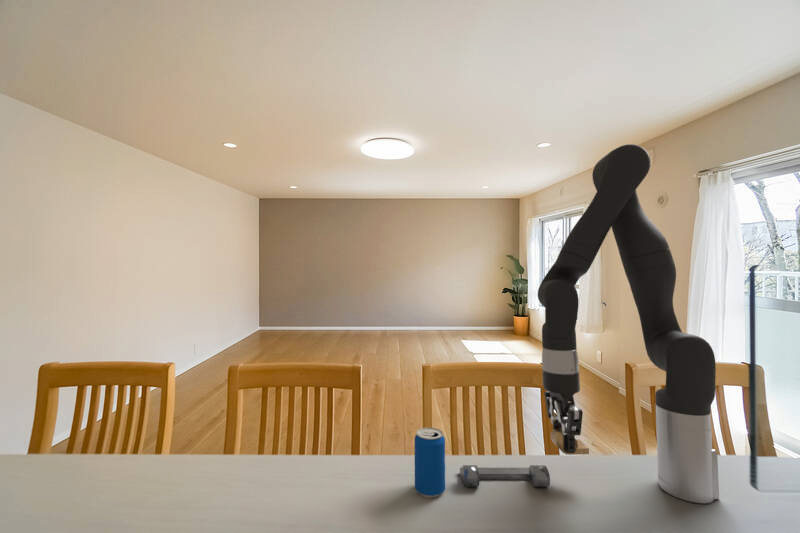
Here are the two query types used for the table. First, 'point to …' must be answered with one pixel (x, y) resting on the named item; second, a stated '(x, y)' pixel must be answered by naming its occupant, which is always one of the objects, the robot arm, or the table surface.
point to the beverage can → (430, 462)
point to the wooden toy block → (558, 441)
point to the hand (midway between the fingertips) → (564, 446)
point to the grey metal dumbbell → (505, 474)
